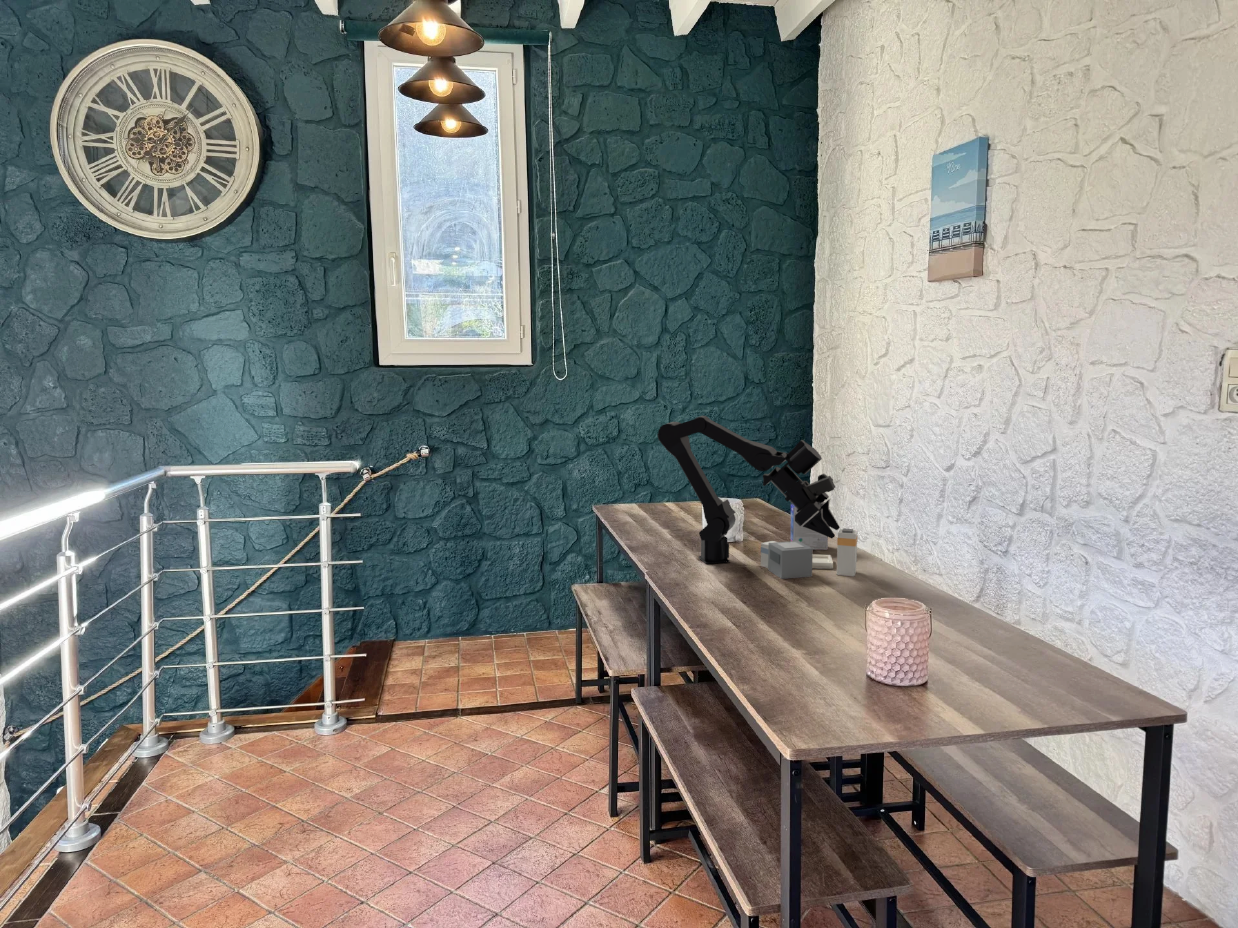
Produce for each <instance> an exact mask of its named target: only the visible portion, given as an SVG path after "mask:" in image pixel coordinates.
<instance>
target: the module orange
mask: <svg viewBox="0 0 1238 928" xmlns="http://www.w3.org/2000/svg"><path fill="white" fill-rule="evenodd" d="M858 536H859V535H858V530H857V529H856V530H854V528H842V529H841V528H839V529H838V532H837V540H836V544H837V548H836V549H837V550H836V552H837V553H836V575H837V576H838V575H839V576H847V577H855V576H856V573H857V555H858Z"/></svg>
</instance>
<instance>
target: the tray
mask: <svg viewBox="0 0 1238 928" xmlns="http://www.w3.org/2000/svg"><path fill="white" fill-rule="evenodd" d="M812 569H822V570H823V569H826V570H828V569H829V570H834V562H833V559H832V555H831V554H813V557H812Z"/></svg>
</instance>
